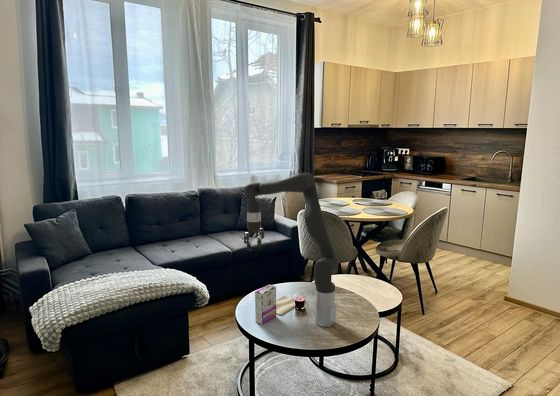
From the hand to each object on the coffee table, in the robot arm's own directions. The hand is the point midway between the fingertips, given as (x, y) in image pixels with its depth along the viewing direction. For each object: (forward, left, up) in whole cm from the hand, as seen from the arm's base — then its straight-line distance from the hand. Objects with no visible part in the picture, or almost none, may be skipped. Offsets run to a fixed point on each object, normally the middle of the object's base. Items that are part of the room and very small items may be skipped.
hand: (254, 248), depth 208 cm
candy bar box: (-20, +15, -29) cm, 38 cm away
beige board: (-18, -2, -29) cm, 34 cm away
